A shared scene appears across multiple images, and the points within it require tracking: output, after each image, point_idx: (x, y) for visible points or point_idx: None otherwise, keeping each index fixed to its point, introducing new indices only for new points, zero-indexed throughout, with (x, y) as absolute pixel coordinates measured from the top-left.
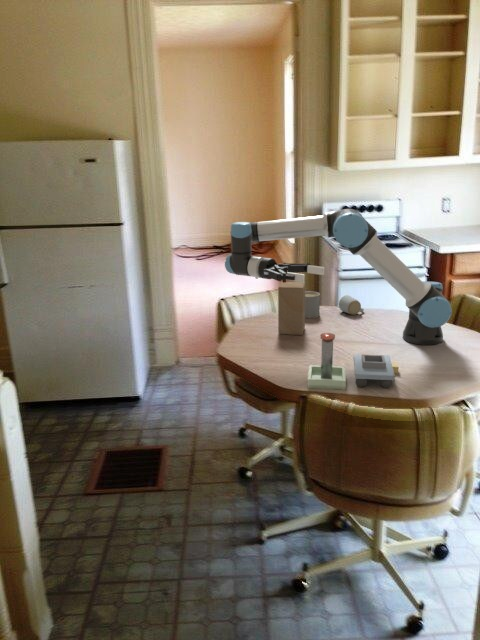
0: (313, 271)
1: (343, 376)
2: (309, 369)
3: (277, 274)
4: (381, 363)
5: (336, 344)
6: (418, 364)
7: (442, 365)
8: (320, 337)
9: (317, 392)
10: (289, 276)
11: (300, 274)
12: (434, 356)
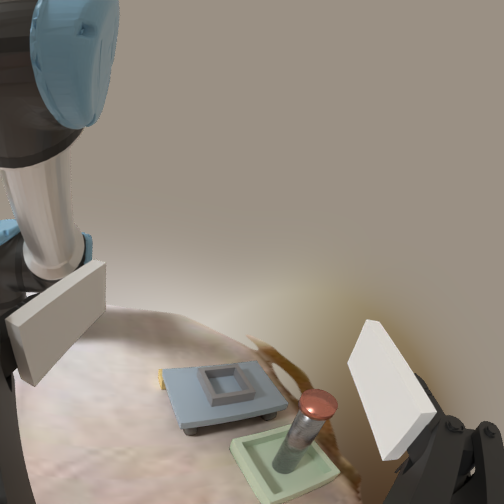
0: (63, 336)
1: (283, 429)
2: (294, 491)
3: (498, 446)
4: (240, 369)
5: (32, 472)
6: (125, 352)
7: (123, 330)
8: (330, 417)
9: (335, 460)
10: (428, 397)
11: (386, 333)
12: (86, 332)
